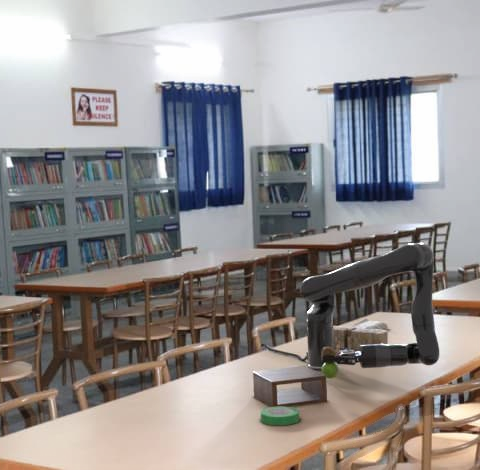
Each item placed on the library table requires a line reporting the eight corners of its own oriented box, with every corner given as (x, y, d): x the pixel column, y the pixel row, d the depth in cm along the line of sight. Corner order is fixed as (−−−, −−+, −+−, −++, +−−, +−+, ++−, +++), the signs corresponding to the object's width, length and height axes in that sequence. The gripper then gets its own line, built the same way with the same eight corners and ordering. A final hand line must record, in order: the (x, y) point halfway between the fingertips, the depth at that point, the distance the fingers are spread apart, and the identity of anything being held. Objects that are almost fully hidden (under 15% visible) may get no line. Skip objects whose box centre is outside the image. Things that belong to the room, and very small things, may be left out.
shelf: (254, 396, 299) (252, 371, 299) (305, 390, 304) (304, 365, 303) (272, 408, 284) (271, 381, 283) (327, 401, 288) (326, 375, 288)
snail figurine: (342, 379, 302) (341, 343, 301) (322, 380, 303) (321, 343, 302) (340, 375, 307) (339, 339, 306) (321, 376, 308) (319, 340, 307)
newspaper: (353, 342, 379) (353, 333, 378) (325, 340, 386) (325, 331, 386) (389, 327, 406) (389, 319, 406) (362, 326, 414) (362, 318, 414)
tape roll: (289, 427, 263) (289, 417, 263) (254, 423, 269) (254, 414, 268) (305, 417, 272) (305, 408, 272) (271, 413, 278) (270, 404, 278)
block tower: (391, 351, 361) (324, 343, 380) (391, 330, 360) (324, 322, 379) (381, 355, 355) (314, 346, 374) (381, 333, 354) (314, 325, 373)
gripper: (371, 340, 310) (318, 342, 311) (378, 348, 297) (323, 351, 298) (372, 362, 311) (319, 365, 312) (379, 372, 297) (324, 374, 298)
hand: (321, 358), depth 305 cm, fingers closed on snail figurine
